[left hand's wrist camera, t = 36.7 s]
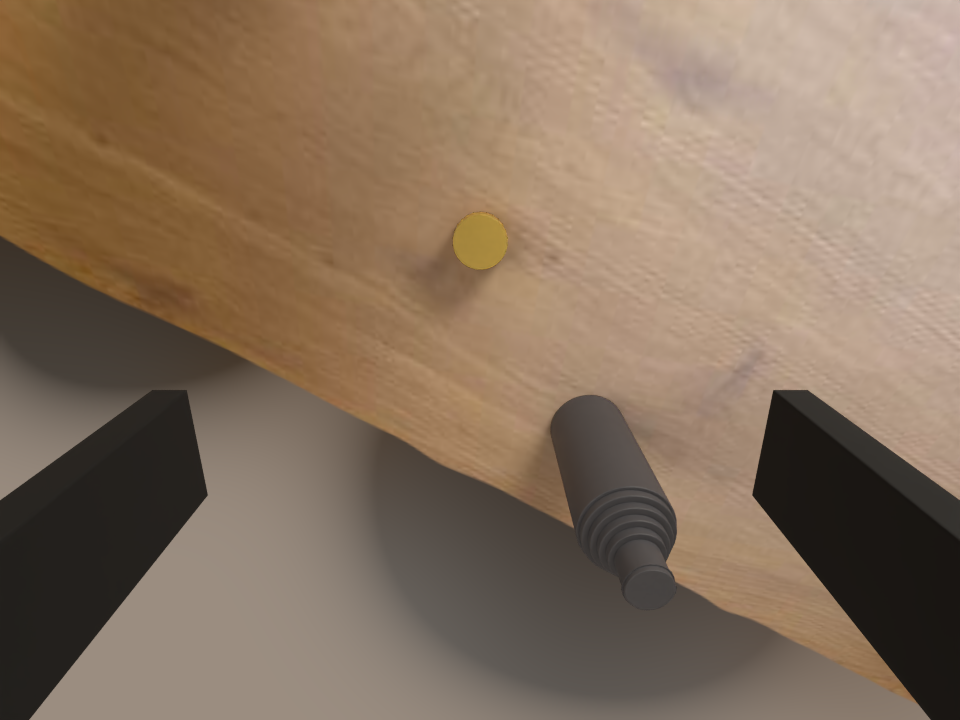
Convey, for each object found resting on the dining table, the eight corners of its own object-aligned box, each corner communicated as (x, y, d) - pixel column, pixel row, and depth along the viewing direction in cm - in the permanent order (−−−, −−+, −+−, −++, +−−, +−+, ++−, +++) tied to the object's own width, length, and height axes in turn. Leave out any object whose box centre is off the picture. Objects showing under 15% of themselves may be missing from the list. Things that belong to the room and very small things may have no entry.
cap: (514, 254, 43) (516, 258, 42) (465, 273, 44) (464, 278, 42) (495, 203, 42) (496, 205, 40) (444, 223, 43) (443, 226, 41)
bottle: (547, 458, 50) (585, 633, 32) (553, 393, 48) (599, 540, 30) (618, 461, 50) (697, 637, 32) (628, 396, 48) (719, 545, 30)
